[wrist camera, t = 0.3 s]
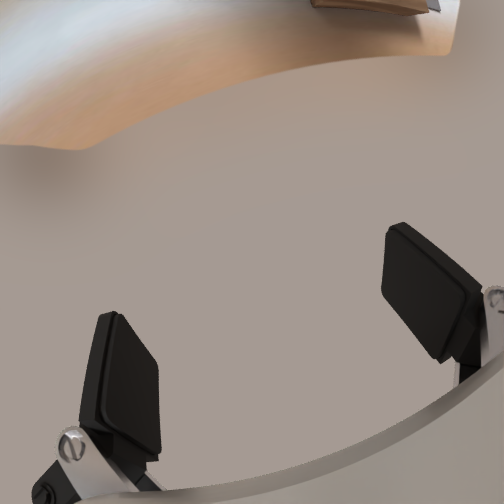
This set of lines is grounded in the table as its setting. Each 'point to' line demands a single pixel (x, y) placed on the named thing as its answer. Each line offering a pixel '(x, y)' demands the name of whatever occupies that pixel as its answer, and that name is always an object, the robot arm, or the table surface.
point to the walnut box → (378, 5)
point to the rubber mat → (433, 4)
